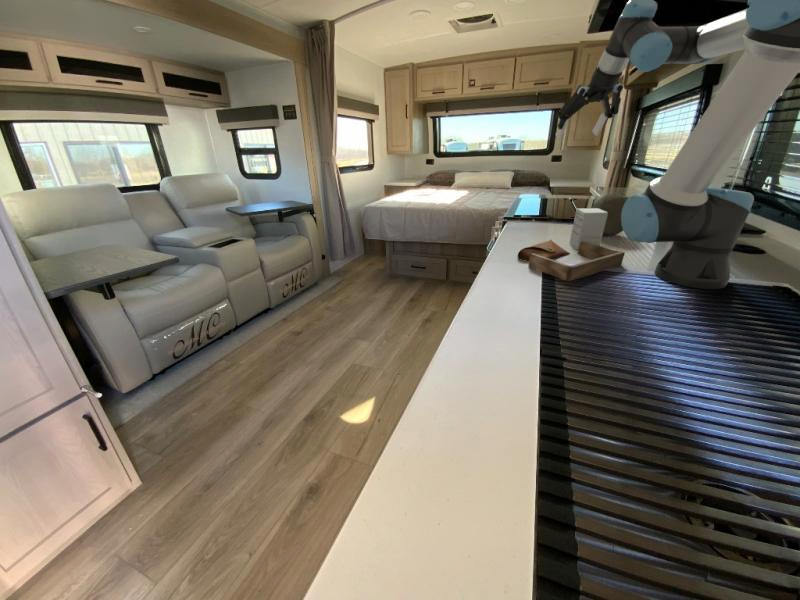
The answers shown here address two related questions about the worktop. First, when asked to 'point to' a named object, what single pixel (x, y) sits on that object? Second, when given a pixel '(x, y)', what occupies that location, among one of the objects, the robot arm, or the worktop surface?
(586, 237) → the supplement box
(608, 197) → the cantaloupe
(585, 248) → the box
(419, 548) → the worktop surface
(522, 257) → the sunglasses case
